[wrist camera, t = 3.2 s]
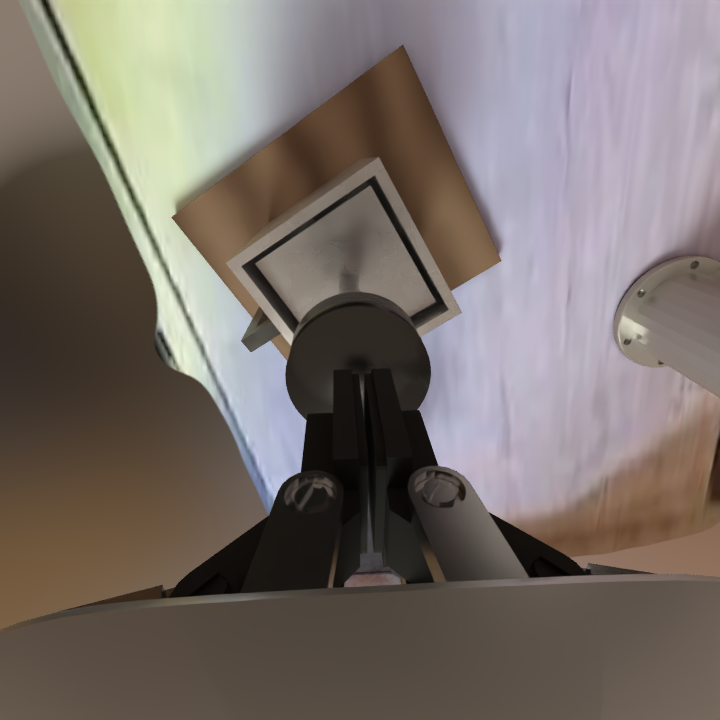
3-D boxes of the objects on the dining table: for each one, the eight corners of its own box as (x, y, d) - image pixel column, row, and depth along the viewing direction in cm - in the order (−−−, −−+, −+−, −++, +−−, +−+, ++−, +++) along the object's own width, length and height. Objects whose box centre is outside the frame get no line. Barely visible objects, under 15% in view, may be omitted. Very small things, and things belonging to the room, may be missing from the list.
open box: (360, 158, 35) (378, 156, 20) (415, 256, 39) (462, 312, 24) (242, 241, 37) (184, 291, 23) (305, 324, 41) (289, 412, 27)
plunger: (369, 184, 23) (403, 209, 11) (433, 297, 26) (509, 405, 15) (257, 260, 24) (188, 349, 13) (330, 358, 28) (327, 498, 16)
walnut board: (400, 48, 32) (403, 44, 31) (497, 258, 41) (501, 260, 39) (176, 215, 37) (171, 217, 36) (302, 373, 45) (301, 378, 44)
